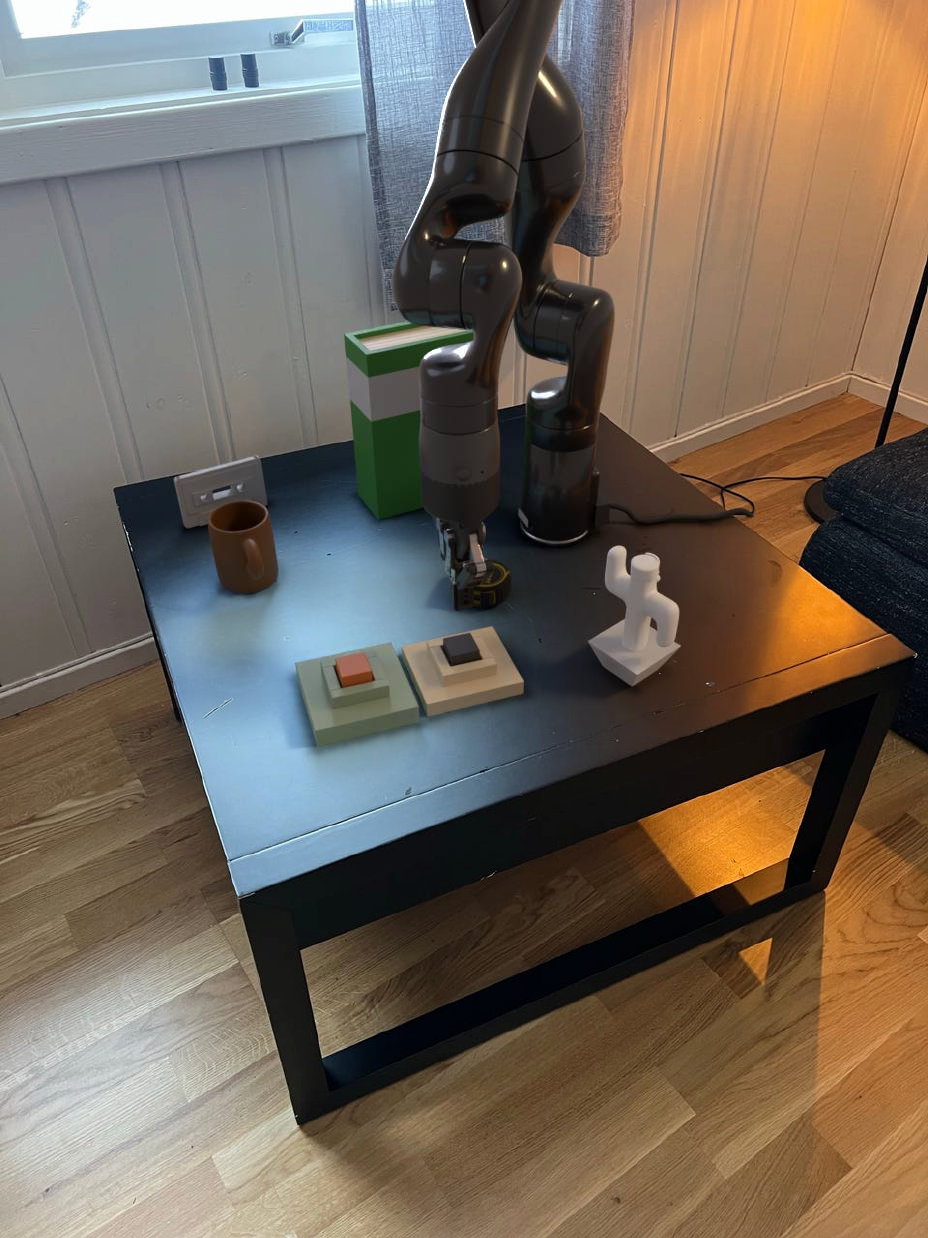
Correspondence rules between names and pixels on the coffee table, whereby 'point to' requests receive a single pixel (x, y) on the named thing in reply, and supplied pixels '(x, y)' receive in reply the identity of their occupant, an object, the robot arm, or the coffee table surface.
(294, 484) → the coffee table surface
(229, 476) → the cassette
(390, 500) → the hardback book
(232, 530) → the mug
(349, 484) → the coffee table surface
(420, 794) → the coffee table surface
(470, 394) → the robot arm
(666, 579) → the coffee table surface
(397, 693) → the green stepped square block
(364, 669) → the key
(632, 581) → the figurine
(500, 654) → the beige push button
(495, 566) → the tape measure
